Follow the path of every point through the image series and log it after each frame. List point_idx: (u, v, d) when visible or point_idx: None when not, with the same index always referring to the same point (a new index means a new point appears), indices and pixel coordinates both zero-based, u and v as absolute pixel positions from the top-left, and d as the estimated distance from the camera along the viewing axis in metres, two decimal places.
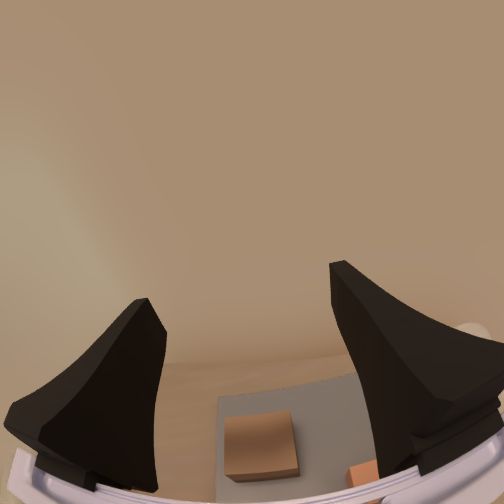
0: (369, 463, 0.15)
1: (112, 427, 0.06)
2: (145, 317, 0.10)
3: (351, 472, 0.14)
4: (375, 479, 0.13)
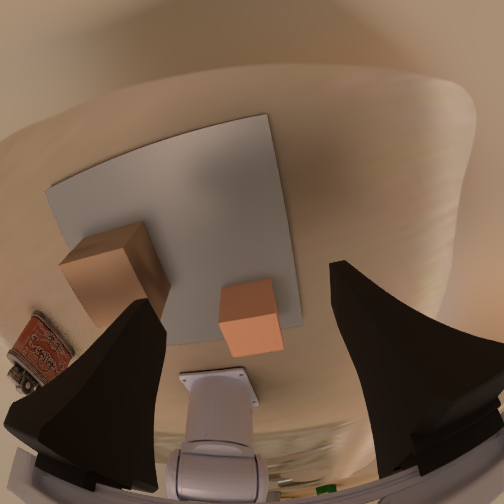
0: (241, 321, 0.18)
1: (112, 427, 0.06)
2: (145, 317, 0.10)
3: (221, 328, 0.18)
4: (249, 336, 0.19)
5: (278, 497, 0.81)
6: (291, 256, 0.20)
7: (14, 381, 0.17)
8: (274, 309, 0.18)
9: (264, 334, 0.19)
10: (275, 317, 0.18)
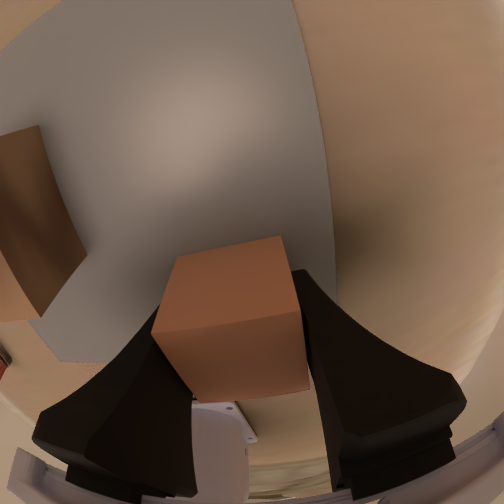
0: (208, 332, 0.07)
1: (156, 432, 0.06)
2: None
3: (161, 345, 0.07)
4: (231, 367, 0.08)
5: None
6: (325, 184, 0.09)
7: None
8: (295, 300, 0.07)
9: (268, 363, 0.08)
10: (298, 321, 0.07)
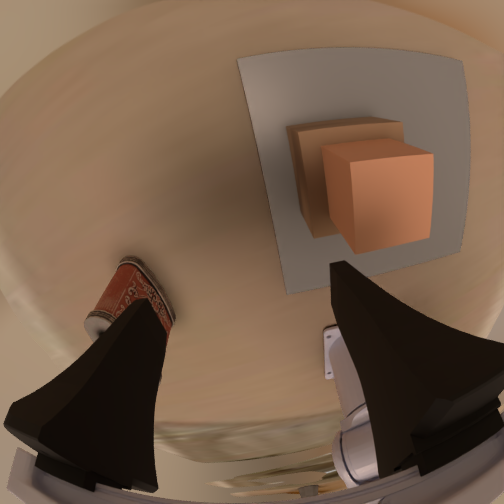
0: (387, 162, 0.09)
1: (112, 427, 0.06)
2: (145, 317, 0.10)
3: (352, 175, 0.09)
4: (391, 201, 0.10)
5: (316, 491, 0.78)
6: (468, 178, 0.17)
7: None
8: (427, 151, 0.09)
9: (413, 199, 0.10)
10: (431, 162, 0.09)
